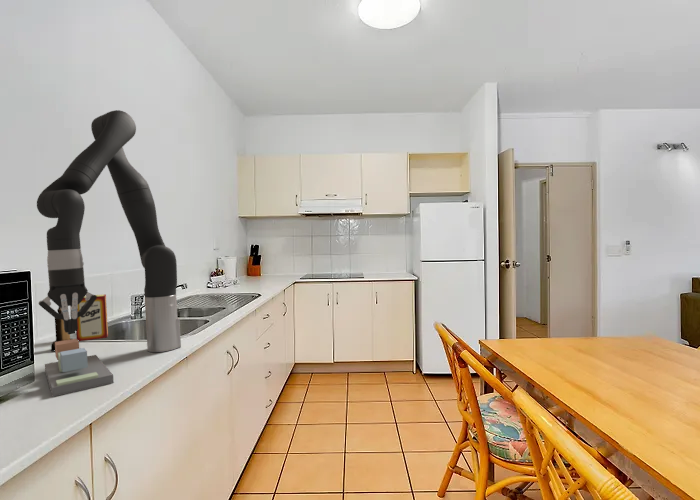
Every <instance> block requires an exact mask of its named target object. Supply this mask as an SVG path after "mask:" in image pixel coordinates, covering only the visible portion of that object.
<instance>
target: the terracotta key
mask: <svg viewBox="0 0 700 500" xmlns="http://www.w3.org/2000/svg"><path fill="white" fill-rule="evenodd" d="M70 339H71V340H64V341H58V342H55V351H54V352H55V358H56V360H58V353H59V352H62V351H68V350H74V349H80V341H78V340H77V338H70Z"/></svg>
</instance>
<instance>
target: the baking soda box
mask: <svg viewBox="0 0 700 500" xmlns="http://www.w3.org/2000/svg"><path fill="white" fill-rule="evenodd" d="M95 295H96V296H97V299H96V300H95V301H94V303H93V304H92V305H91V307H90V308H89V309H88V311H87V312H86V313H85V315H82V316H80V317H78V319H77V322H78V330H77V331H75V336H76V339H77V340H79V342H84V341H92V340H99V339H100V340H101V339H108V337H109V328H108V327H109V326H108V325H109V324H108V310H107V307H108V306H107V294H95ZM85 298H86V295H85V297H84V298H83V300H82V301H81V302H80V303H79V304H78V310H77V312H78V311H79V310H80V309H81V308H82V306H83V305H84V304H85V302H86V300H85Z"/></svg>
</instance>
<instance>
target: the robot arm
mask: <svg viewBox="0 0 700 500" xmlns="http://www.w3.org/2000/svg"><path fill="white" fill-rule="evenodd" d="M135 122H136V121H135V120H134V118H133V117H132V116H131V115H130V114H128V113H127V112H126V111H123V110H119V109H118V110H111V111H108V112H106V113H104V114H102V115H100V116H97V117H96V118H94V119H93V120H92V122H91V125H90V126H91V128H90V129H91V132H92V133H91V134H92V136H93V139H94V140H93V142H91V144H89V145H88V146H87V147H86V148H85V149H84V150H83V151H82V152H80V153H79V154H78V155H77V156H76V157H75V158H74V159H73V160H72V162H71V163H70V164H69V165H68V166H67V168H66V169H65V170H64V172H63V173H62V175H61V176H60V177H58V178H57V179H55V180H54V181H53V182H51V183H50V184H49V185H48V186H46V187H45V188H44V189H43V190H42V191H41V192H40V194H39V195H38V197H37V200H36V208H37V211H38V212H39V213H40V215H42V216H43V217H46V218H48V219H57V222H56V225H54V226H53V227H50V228H48V230H47V231H46V247H47V259H46V261H47V264H46V265H47V273H48V286H49V289H48V291H47V295H46V297H45V298H43V299H42V300H39V301H38V305H39V306H40V307H41V308H43V310H45V312H47V313H48V314H49V315H51V316H52V317H54V319H55V318H56V319H62V320H63V322H64V331H65V332H66V333H67V332H68V334H70V335H74V334H75V335H76V331H77V330H78V322H77V319H78V317H80V316H82V315H85V313H86V312H87V311H88V309H89V308H90V307H91V305H92V304H93V303H94V301H95V300H96V299H97V296H96V295H97V294H92V293H91V292H88V291H89V289H87V286H86V284H85V273H84V272H85V271H84V264H85V263H84V260H83V259H84V258H83V254H82V247H81V237H80V232H81V229H82V226H83V220H84V217H85V208H86V207H85V206H86V205H85V202H84V198H83V196H81V195H83V194H86V193H87V192H88V193H89V191H90V190H91V188H92V187H93V185H94V184H95V183H96V181H97V180H98V178H99V177H100V176H101V174H102V172H103V171H104V169H105V168H106V167H107V169H108V171H109V174H110V177H111V179H112V182H113V184H114V187H115V190H116V194H117V197H118V200H119V202H120V205H121V207H122V210H123V212H124V215H125V218H126V219H127V222H128V224H129V226H130V227H131V230H132V232H133V235H134V237H135V240H136V241H135V242H136V244H137V248H138V253H139V257H140V262H141V265H142V268H143V269H144V279H145V280H144V288H143V289H144V290H143V291H144V305H145V307H144V308H145V309H144V312H145V327H146V331H145V333H146V347H147V352H149V353H162V352H167V351H168V352H169V351H172V350H175V349H178V348H182V341H181V338H182V337H181V321H180V317H178V303H177V301H178V300H177V287H178V269H177V256H176V255H175V252H174V250H172V249H171V248H169V247H168V246H166V244H165V242H164V239H163V238H162V235H161V233H160V228H159V225H158V217H157V215H158V214H157V211H156V210H157V209H156V205H155V200H154V197H153V194H152V191H151V189H150V185H149V183H148V182H147V180H146V179H145V178H144V177H143V175H142V174H141V173H140V172H138V170H137V169H135V168H134V166H132V164H131V163H130V162H129V160H128V158H127V156H126V154H125V151H124V146H125V145H126V144H127V143H128V142H130V141H131V140H132V139H133V138H134V137H135V136H136V135H135V134H136V132H137V125H136V123H135ZM85 296H86V298H85V300H86V302H85V304H84V305H83V306H82V308H81V309H80V310H79V311H78V312H77V310H78V304H79V303H80V302H81V301H82V300H83V298H84V297H85ZM51 301H52V302H53V303H54V304H55V305H57V306H58V308H59V307H61V311H62V314H58V311H56V310H55V309H54V308H53V307H52V302H51ZM69 307H70V312H69Z"/></svg>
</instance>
